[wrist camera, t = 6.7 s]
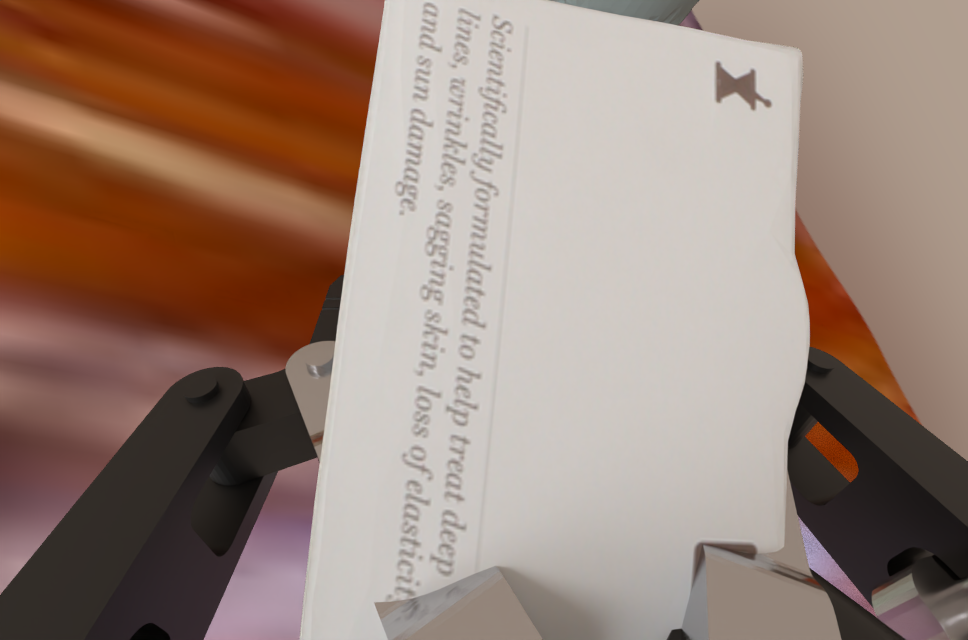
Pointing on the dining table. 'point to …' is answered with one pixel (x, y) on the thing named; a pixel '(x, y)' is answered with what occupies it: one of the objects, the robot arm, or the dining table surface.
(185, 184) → the dining table surface
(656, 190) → the skincare box
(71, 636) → the robot arm
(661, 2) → the grey plant pot
